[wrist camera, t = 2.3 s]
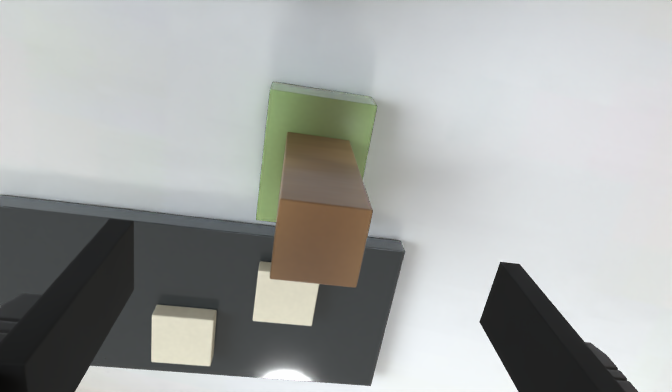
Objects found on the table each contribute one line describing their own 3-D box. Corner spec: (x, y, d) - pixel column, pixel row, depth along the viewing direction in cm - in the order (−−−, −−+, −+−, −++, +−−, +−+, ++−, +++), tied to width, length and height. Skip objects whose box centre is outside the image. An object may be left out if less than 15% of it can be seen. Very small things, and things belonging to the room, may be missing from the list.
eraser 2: (253, 310, 32) (252, 321, 30) (259, 260, 30) (258, 270, 29) (311, 315, 32) (311, 326, 31) (320, 266, 31) (320, 276, 29)
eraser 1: (155, 350, 32) (150, 362, 31) (156, 303, 31) (151, 315, 30) (213, 354, 33) (210, 367, 32) (217, 309, 31) (213, 320, 30)
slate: (19, 345, 33) (6, 360, 32) (-1, 194, 29) (-16, 204, 27) (368, 371, 36) (371, 386, 35) (400, 240, 32) (405, 251, 31)
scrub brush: (259, 203, 30) (234, 321, 19) (272, 81, 27) (252, 137, 16) (348, 214, 31) (374, 333, 20) (371, 96, 28) (416, 160, 17)
